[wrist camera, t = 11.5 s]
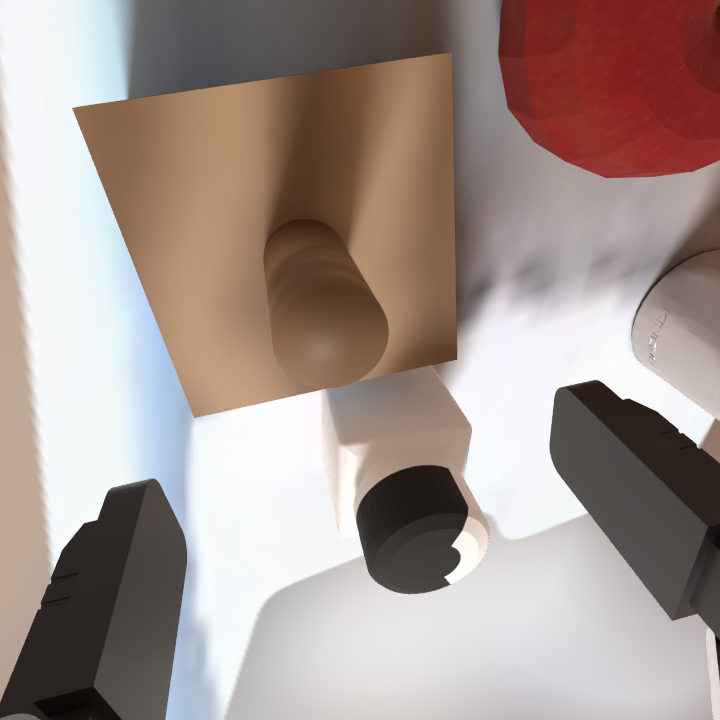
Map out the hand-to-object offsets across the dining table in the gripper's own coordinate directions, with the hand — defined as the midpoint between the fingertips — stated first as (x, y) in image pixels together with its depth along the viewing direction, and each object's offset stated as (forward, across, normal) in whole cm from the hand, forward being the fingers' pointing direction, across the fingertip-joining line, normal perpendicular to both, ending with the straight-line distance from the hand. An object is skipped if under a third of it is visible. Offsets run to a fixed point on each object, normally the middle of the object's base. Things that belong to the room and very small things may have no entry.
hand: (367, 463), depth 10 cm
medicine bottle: (+18, -3, +13) cm, 22 cm away
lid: (+13, 0, 0) cm, 13 cm away
